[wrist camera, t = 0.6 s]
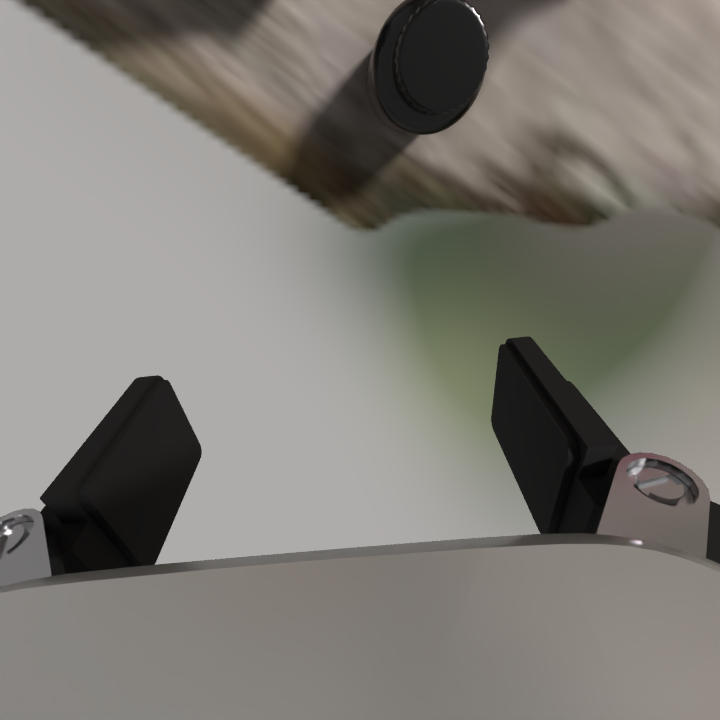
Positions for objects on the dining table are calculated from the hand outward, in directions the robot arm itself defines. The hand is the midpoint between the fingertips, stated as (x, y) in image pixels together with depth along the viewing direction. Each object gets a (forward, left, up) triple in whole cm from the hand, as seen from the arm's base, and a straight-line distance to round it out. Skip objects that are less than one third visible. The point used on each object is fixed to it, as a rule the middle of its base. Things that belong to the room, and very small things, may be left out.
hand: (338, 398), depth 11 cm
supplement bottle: (-9, +6, -28) cm, 30 cm away
